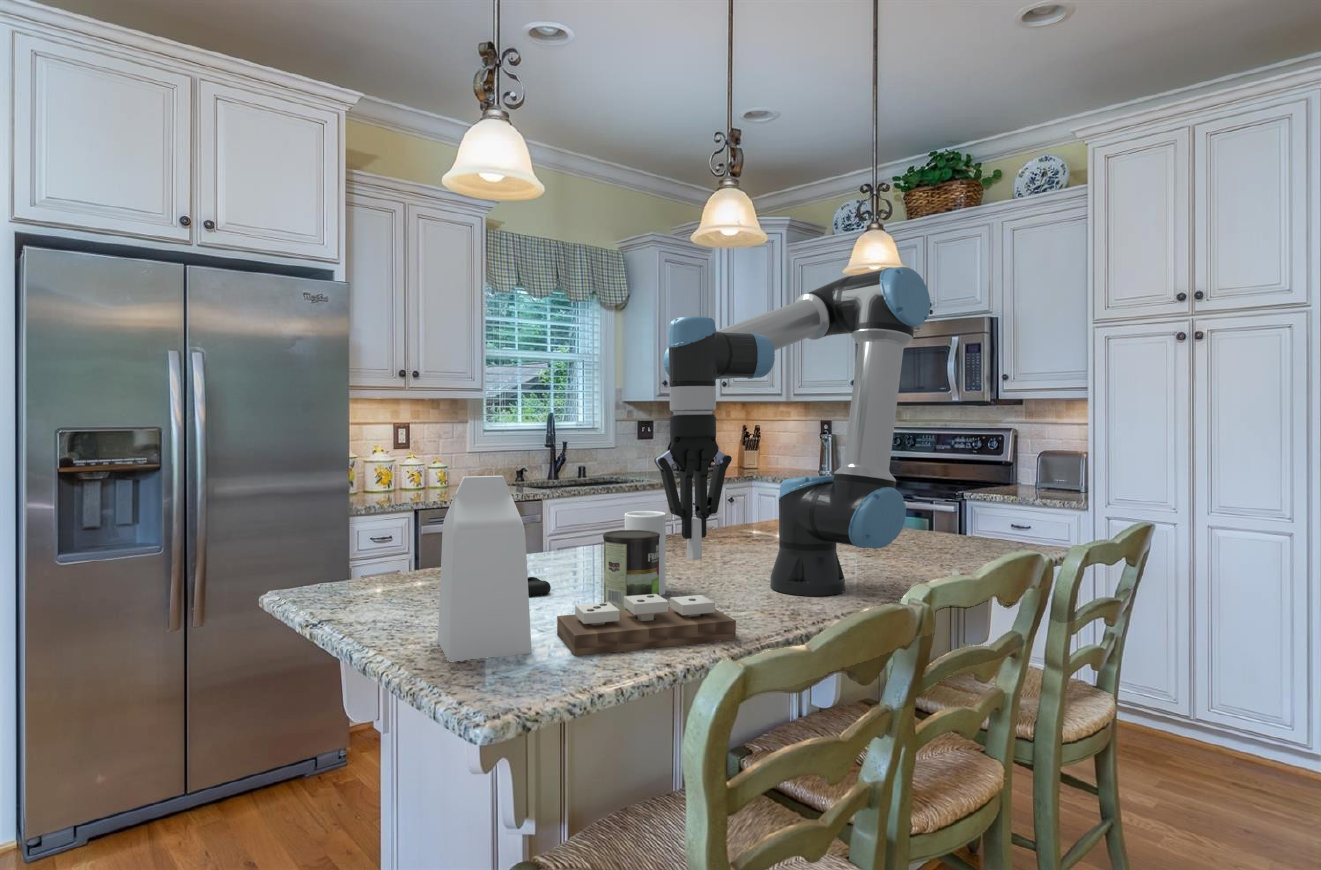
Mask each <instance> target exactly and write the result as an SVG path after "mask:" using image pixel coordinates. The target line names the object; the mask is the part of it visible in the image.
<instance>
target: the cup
mask: <svg viewBox="0 0 1321 870" xmlns="http://www.w3.org/2000/svg"><path fill="white" fill-rule="evenodd" d="M666 518H667V515H666V513H665V512H664V511H658V510H657V511H656V510H654V511H653V510H635V511H628V512H625V513H624V530H645V531H653V532H657V533H659V534H660V538H659V596H661V597H662V596H664V595H665V594H666V566H667V565H666V554H667V553H666V550H667V549H666V547H667V546H666V544H667V542H666V539H667V538H666V535H667V533H666V530H667V529H666V524H667V523H666V522H667V521H666Z"/></svg>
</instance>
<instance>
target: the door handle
mask: <svg viewBox="0 0 1321 870" xmlns="http://www.w3.org/2000/svg"><path fill="white" fill-rule="evenodd" d="M551 588H552V587H551V583H549V582H548V581H547V580H541V579H539V578H538V577H536V576H535V577H534V576H530V577H528V593H529V598H531V597H539V596H540V597H541V596H547V595H549V593H550V592H551V590H552V589H551Z"/></svg>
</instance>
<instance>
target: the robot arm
mask: <svg viewBox="0 0 1321 870" xmlns="http://www.w3.org/2000/svg"><path fill="white" fill-rule="evenodd" d="M930 298H931V297H930V293H929V289H928V287H927V284H925V281H924V279H923V278H922V276H921V275H920V274H919V273H918V272H917V271H916V270H914V269H913V268H910V267H907V266H897V267H896V266H895V267H886V268H884V269H880V270H875V271H870V272H865V273H860V274H854V275H850V276H849V275H848V276H844V277H841V278H839V279H837V280H834V281H831V282H829V283H827V284H825V285H822V286H820V287H818V288H816V289H814V290H811V291H809V292H807V293H803V294H801V295H799V296H798V297H797V298H796V299H795V301H794V302H793V303H790V304H787V305H785V306H782V307H779V308H776V309H773V310H770V311H767V312H765V313H762V314H759V315H757V316H753V317H751V318H748V319H745V320H742V321H739V322H736V323H733V324H731V325H728V326H726V327H722V328H719V329H717V328H716V322H715V320H714V319H713V318H712V317H708V316H698V315H697V316H695V315H692V316H681V317H677V318H674V319H672V320H671V321H670V323H669V327H668V328H669V329H668V330H669V331H668V343H667V349H666V350H665V351H664V352H665V353H664V355H663V366H664V370H665V372H666V373H667V375H668V377H669V381H668V382H669V411H671V412H673V415H670V416H669V441H670V442H669V444H668V445H667V448H666V449H667V451H666V452H664V453H663V454H661V456H656V457H654V464H655V465H656V467H657V468H658V469H659V471H660V476H661V478H662V483H663V487H664V491H665V496H666V500H667V504H668V508H669V511H670V514H671V515H673V516H677V517H680V519H681V536H682V538H683V539H685V540H686V558H688V559H690V560H692V561H698V560H703V556H702V555H703V553H702V552H703V546H702V544H703V543H702V541H703V538H706V537H707V534H708V533H707V519H709V517H710V516H711V515H716V514H717V513H718V510H719V505H720V502H721V496H722V491H723V485H724V481H725V477H726V471H727V469H728V467H729V465H730V464H731V462H732V458H733V457H732V456H731V455H727V454H725V453H723V452H722V451H721V450H719V449H720V448H719V445H718V442H717V439H716V438H717V416H716V415H715V414H713V412H715V411H716V410H717V402H716V401H717V398H716V397H717V390H716V386H717V384H716V383H717V380H726V379H757V378H763V377H765V376H767V375H769V373H771V371H772V369H773V367H774V363H775V361H776V359H775V356H776V355H775V353H776V351H777V350H780V349H783V348H785V347H788V346H790V345H793V344H795V343H798V342H800V341H803V340H805V339H808V340H812V341H813V340H819V339H822V338H825V337H828V336H837V335H845V334H846V335H847V334H848V335H849V334H851V337H852V339H853V340H854V341H855V342H856V344H857V351H856V353H857V354H856V358H855V359H856V361H855V367H854V377H853V384H852V393H851V400H850V408H849V417H848V425H847V434H846V441H845V447H844V456H843V463H842V465H841V466H840V467H838V469H837V470H835V471H834V473H833V475H816V476H807V477H805V476H803V477H794V478H793V477H792V478H791V477H790V478H786V479H784V480H782V482H781V483H780V486H779V496H778V533H779V534H778V544H779V545H778V553H777V556H776V559H775V561H774V564H773V568H772V571H771V574H770V585H769V586H770V588H771V589H772V590H774V591H776V592H780V593H782V594H783V593H784V594H787V595H788V594H790V595H796V596H810V597H812V596H813V597H819V596H821V597H824V596H832V595H838V594H842V593H843V592H845V591H846V578H845V575H844V573H843V568H842V565H841V562H840V558H839V556H838V551H837V544H840V545H841V544H842V545H846V546H847V545H848V546H853V547H856V548H858V549H873V550H874V549H878V550H879V549H882V548H885V547H888V546H889V545H891V544H892V543H893V541H894V540H896V539H897V538H898V537H899V535H900V534H901V532H902V530H903V528H904V525H905V521H906V516H907V505H906V503H905V502H904V501H905V498H904V496H903V495H902V494H901V492H900V491H898V490H897V489H896V485H897V479H896V478H895V477H894V476H893V475H892V473H891V472H890V465H891V455H892V448H893V439H894V432H895V431H894V430H895V422H896V416H897V415H896V414H897V406H898V399H899V390H900V381H901V375H902V374H901V371H902V367H903V366H902V363H903V356H904V349H905V348H906V347H907V346H908V345H910V344H911V343H913V340H914V333H915V328H919V327H920V326H921V325H923V324H925V322H926V320H927V319H928V318H929V315H930V311H931V299H930ZM672 460H673V462H674V463H675V465H676V466H677V467H678V475H679V491H680V492H678V488H677V483H676V480H675V476H674V475H675V474H674V471H673V469H672V465H673V462H672ZM712 462H713V463H714V466H713V467H712V469H713V470H712V472H711V473H712V474H711V479H710V482H709V487H708V476H709V467H710V466H711V463H712ZM693 477H694V478H693ZM693 479H694V489H693ZM693 490H694V498H693ZM693 499H694V500H693ZM693 501H694V505H693ZM693 506H694V507H693ZM693 509H694V512H693ZM693 513H694V514H693ZM693 515H695V516H693Z"/></svg>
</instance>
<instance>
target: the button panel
mask: <svg viewBox="0 0 1321 870" xmlns="http://www.w3.org/2000/svg"><path fill="white" fill-rule="evenodd" d="M556 617H557V618H556V632H557V633H556V635H557V637H558V638H559V639H560V640H561V641H562V642H563V643H564V645H565V647H567V649H568V650H569V651H570V652H571V654H572V655H573V656H574V657H577V656H587V655H595V654H596V655H597V654H606V653H607V654H608V653H614V652H625V651H626V652H628V651H636V650H645V649H657V648H665V647H666V648H667V647H675V646H685V645H695V644H705V643H714V642H715V643H716V642H724V641H732V640H733V641H734V640H736V639H737V637H736V636H737V620H736V619H734V618H732V617H730V616H729V615H728V614H725V613H724V612H722V611H719V610H718V609H716V608H715V612H714V613H702V614H700V616H694V617H686V616H685V615H681V614H680V613H678V612H677V611H675V610H674V609H672V608H671V607H670V606H668V612H657V613H654V620H649V621H639V620H638V614H633V613H632V612H630V611H629V610H623V611H619V621H611V622H605V624H604V625H593V626H590V625H589V623H588V624H584V623H583V622H582V621H581V620H580V619H579V618H578V617H577V616H576V615H575V614H566V615H565V614H564V615H556Z"/></svg>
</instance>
